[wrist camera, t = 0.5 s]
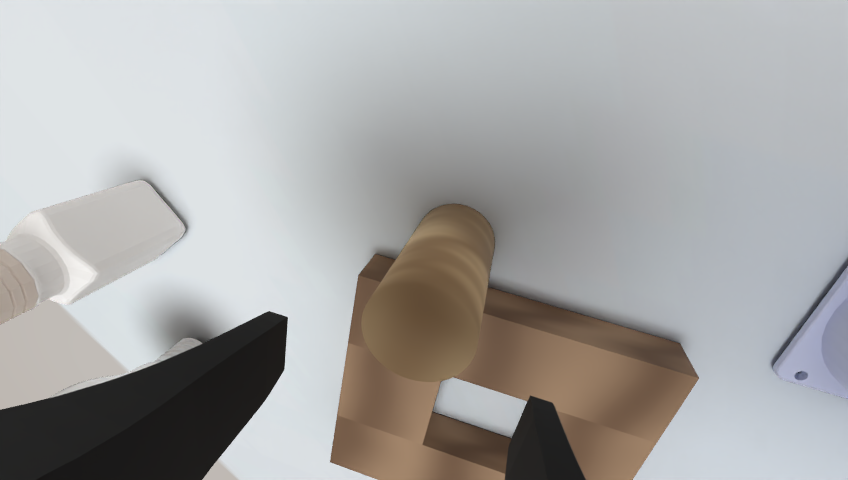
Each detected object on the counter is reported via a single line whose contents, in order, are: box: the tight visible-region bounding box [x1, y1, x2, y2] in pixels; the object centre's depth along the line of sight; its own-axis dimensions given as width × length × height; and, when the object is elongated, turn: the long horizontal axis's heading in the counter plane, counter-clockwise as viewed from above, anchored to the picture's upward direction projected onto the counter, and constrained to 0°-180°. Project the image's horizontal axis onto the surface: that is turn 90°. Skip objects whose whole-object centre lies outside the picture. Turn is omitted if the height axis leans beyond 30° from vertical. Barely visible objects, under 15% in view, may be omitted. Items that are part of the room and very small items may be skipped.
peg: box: [361, 204, 495, 382], centre depth 17 cm, size 4×4×8 cm
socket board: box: [330, 254, 699, 480], centre depth 23 cm, size 16×14×2 cm
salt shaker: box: [0, 180, 186, 324], centre depth 21 cm, size 4×4×10 cm
